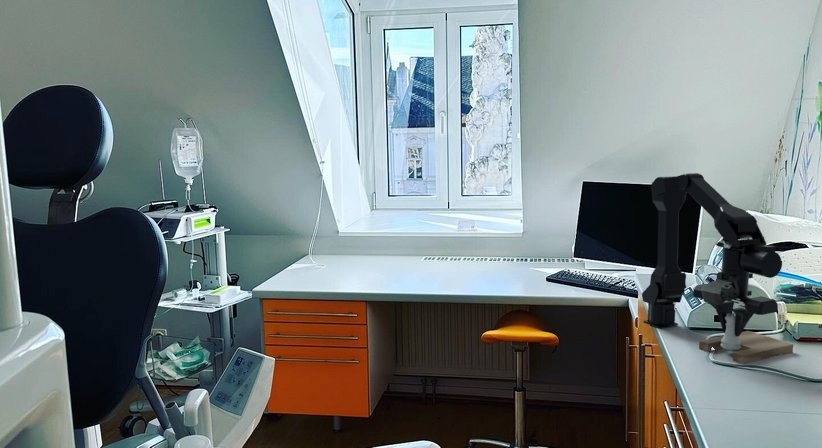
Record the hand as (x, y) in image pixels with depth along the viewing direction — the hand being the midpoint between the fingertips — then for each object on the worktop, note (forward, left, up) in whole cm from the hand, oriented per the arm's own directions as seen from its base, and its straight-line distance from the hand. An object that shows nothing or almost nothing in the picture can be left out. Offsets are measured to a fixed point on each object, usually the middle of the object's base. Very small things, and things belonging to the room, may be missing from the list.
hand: (731, 334), depth 160 cm
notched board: (0, +5, -5) cm, 7 cm away
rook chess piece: (0, 0, -4) cm, 4 cm away
